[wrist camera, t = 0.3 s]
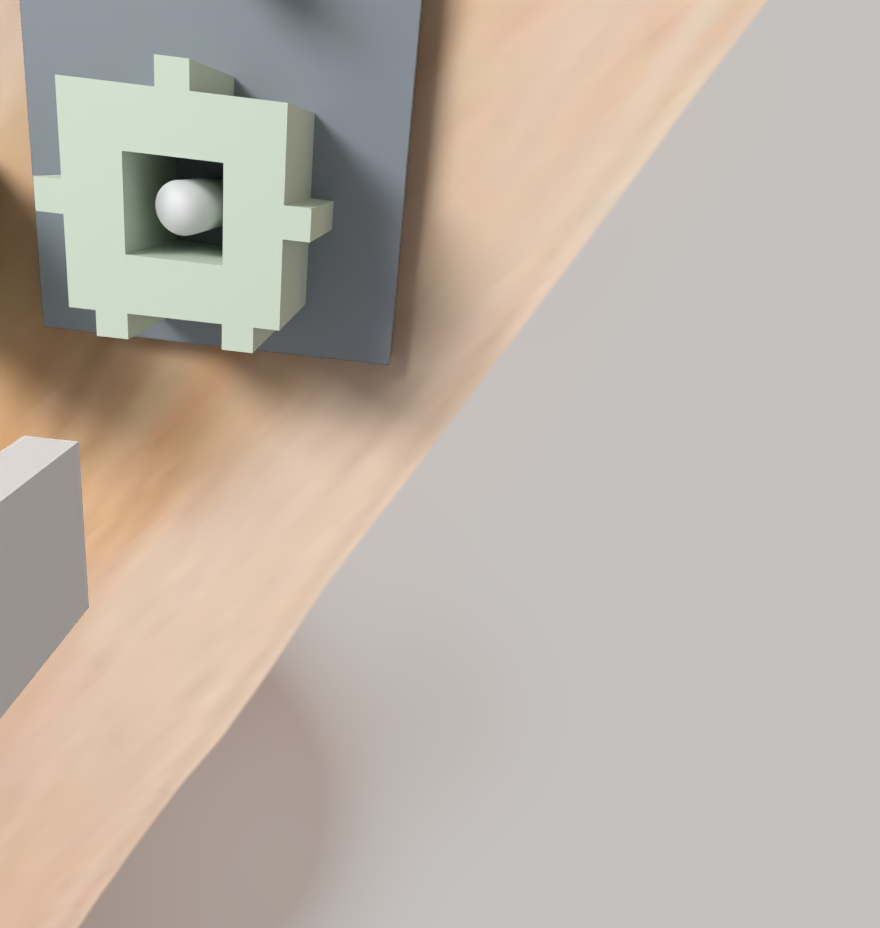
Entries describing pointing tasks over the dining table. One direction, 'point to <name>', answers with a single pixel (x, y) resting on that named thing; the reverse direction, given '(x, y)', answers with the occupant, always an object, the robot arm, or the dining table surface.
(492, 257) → the dining table surface
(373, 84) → the gear board
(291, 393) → the dining table surface
